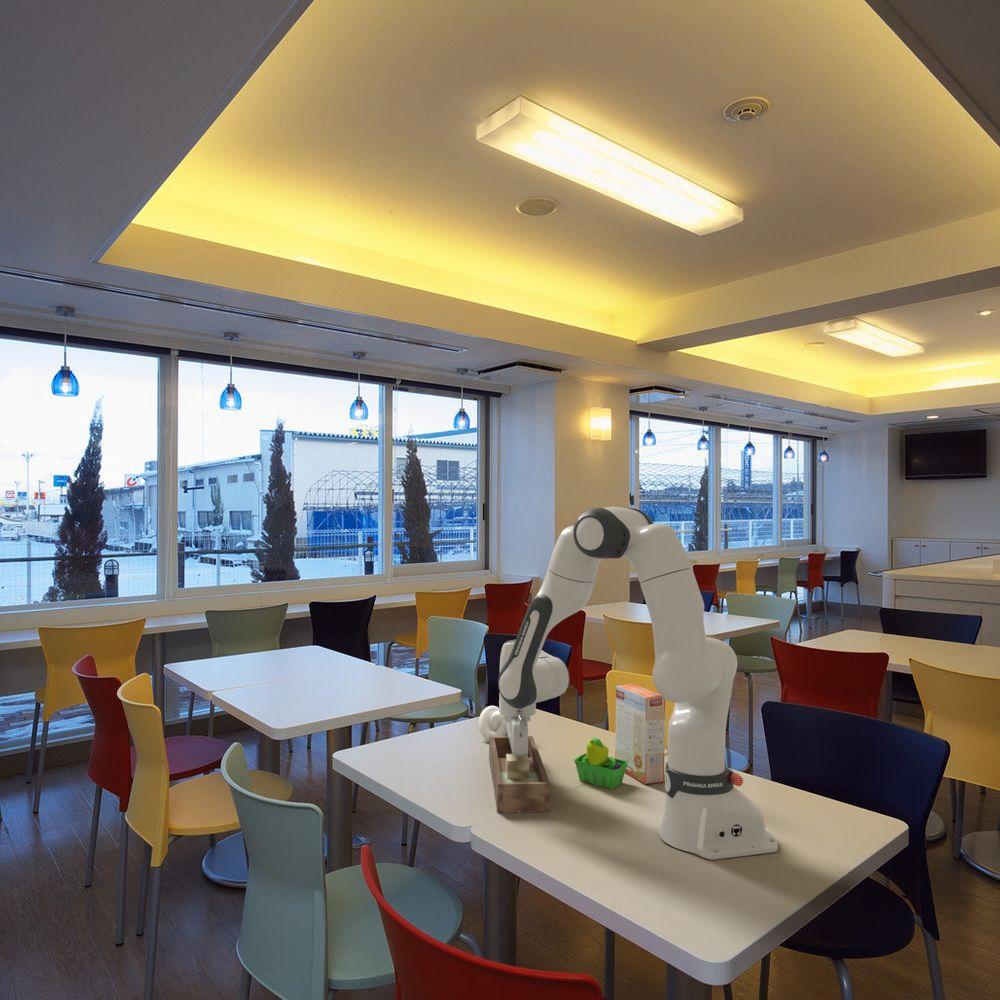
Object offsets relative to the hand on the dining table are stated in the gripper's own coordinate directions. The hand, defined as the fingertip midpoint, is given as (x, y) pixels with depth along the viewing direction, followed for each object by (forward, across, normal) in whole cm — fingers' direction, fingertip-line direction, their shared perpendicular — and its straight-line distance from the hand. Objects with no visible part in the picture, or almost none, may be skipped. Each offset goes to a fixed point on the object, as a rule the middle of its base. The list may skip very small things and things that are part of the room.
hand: (516, 763), depth 176 cm
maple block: (+1, -5, 0) cm, 5 cm away
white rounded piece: (+4, +33, +1) cm, 33 cm away
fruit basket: (+4, -2, -20) cm, 20 cm away
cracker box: (+4, +3, -31) cm, 31 cm away
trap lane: (+4, -2, 0) cm, 5 cm away
